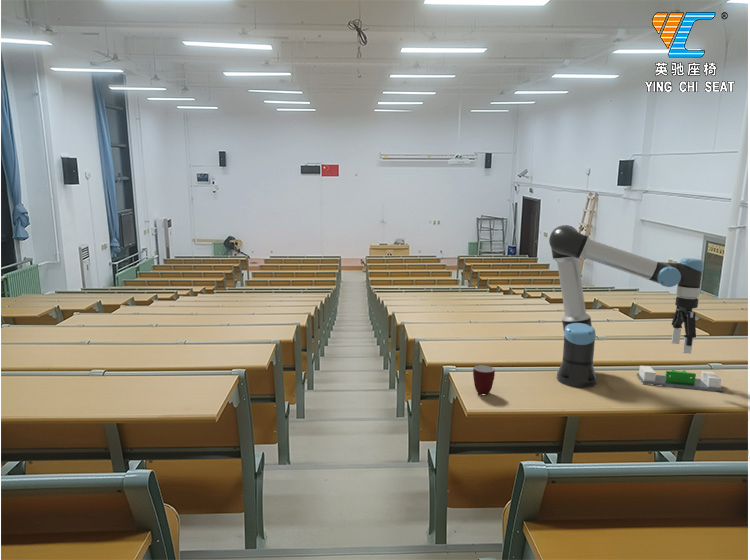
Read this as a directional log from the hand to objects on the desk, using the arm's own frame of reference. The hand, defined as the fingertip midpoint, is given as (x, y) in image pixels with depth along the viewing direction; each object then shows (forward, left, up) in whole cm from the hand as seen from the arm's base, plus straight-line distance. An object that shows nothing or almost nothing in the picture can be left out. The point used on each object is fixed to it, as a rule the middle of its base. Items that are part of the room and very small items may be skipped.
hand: (680, 348), depth 191 cm
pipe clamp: (+1, 0, -14) cm, 14 cm away
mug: (-77, -33, -15) cm, 85 cm away
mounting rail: (0, 0, -15) cm, 15 cm away
